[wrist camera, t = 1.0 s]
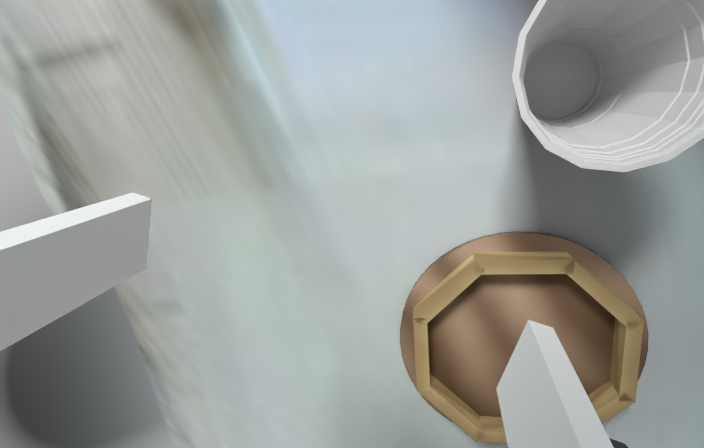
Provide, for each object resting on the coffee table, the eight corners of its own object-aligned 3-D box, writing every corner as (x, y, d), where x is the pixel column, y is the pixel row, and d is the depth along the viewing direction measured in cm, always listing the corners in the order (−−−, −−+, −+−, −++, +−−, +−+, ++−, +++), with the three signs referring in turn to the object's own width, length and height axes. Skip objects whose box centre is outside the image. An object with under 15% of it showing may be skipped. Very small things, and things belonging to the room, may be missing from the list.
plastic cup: (666, 22, 28) (821, -36, 17) (597, 167, 32) (687, 199, 21) (516, -16, 30) (567, -94, 18) (464, 128, 33) (481, 138, 22)
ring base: (517, 181, 33) (525, 188, 30) (699, 344, 34) (723, 365, 31) (357, 335, 40) (351, 352, 37) (511, 468, 41) (517, 495, 38)
